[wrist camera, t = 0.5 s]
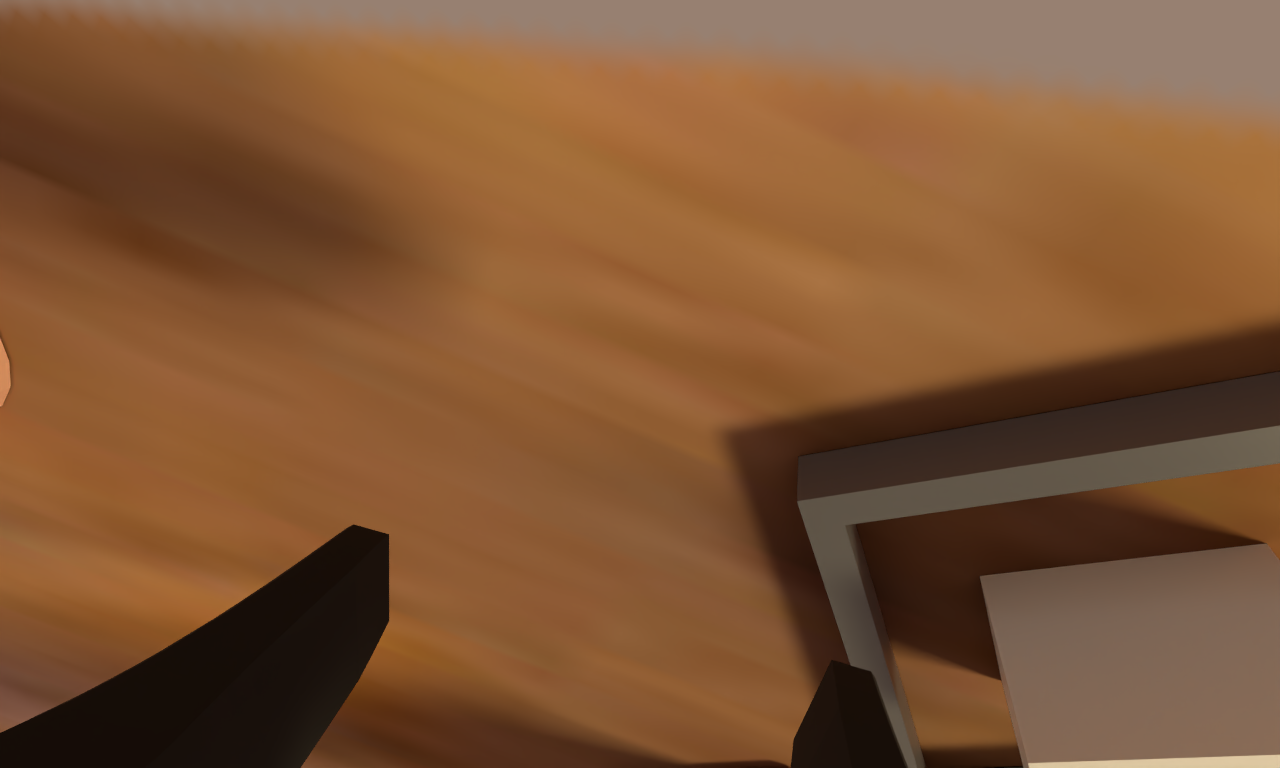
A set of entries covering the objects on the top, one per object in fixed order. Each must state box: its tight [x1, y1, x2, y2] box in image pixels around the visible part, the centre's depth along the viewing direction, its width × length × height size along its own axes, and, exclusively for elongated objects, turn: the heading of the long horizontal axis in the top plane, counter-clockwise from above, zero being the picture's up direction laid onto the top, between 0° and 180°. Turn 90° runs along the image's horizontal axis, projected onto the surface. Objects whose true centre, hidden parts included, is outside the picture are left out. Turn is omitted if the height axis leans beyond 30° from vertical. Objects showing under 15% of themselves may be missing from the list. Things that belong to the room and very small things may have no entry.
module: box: [980, 543, 1280, 768], centre depth 19 cm, size 4×7×6 cm, turn 111°
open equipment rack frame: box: [797, 371, 1280, 768], centre depth 21 cm, size 15×16×2 cm
